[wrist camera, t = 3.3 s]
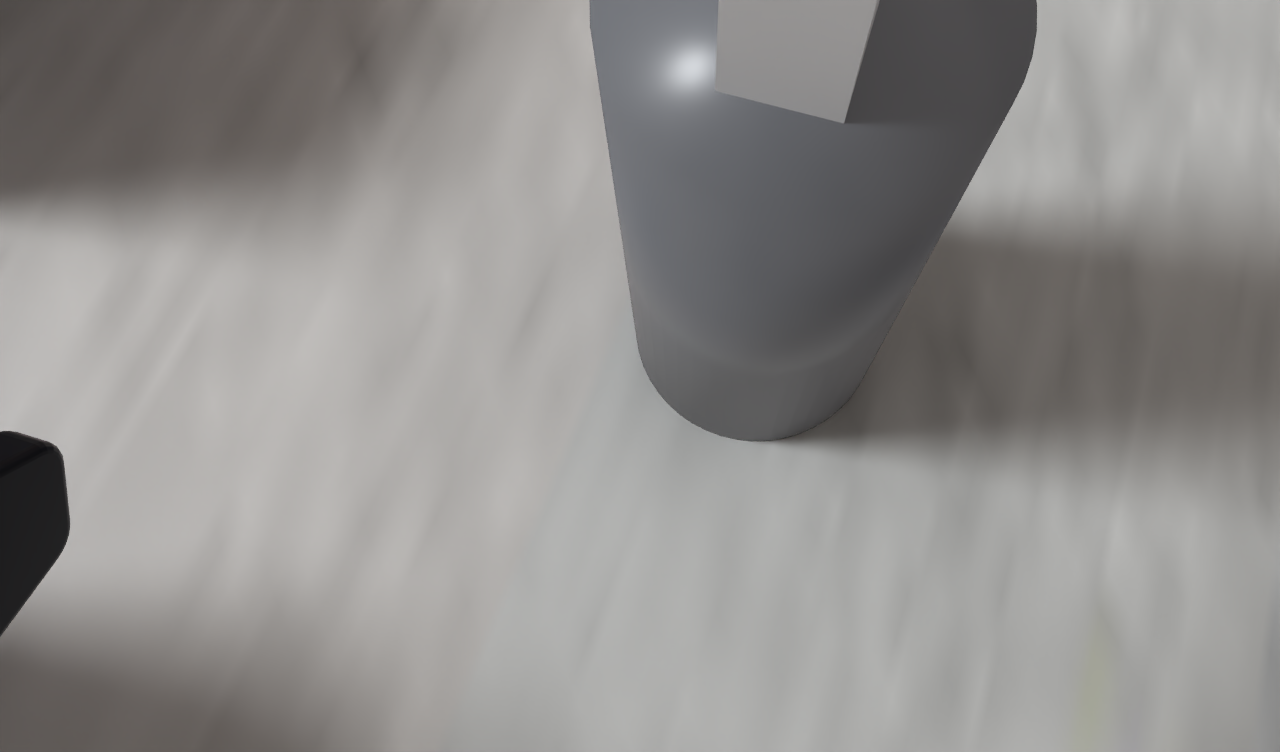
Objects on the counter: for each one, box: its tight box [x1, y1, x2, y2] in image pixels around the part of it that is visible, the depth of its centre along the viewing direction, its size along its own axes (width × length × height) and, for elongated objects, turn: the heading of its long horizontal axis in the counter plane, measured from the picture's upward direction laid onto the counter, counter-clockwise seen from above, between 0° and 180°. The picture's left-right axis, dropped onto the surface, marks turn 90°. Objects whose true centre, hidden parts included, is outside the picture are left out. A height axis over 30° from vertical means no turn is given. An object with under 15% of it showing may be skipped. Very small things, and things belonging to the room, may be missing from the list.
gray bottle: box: [590, 0, 1037, 441], centre depth 16 cm, size 5×5×13 cm
